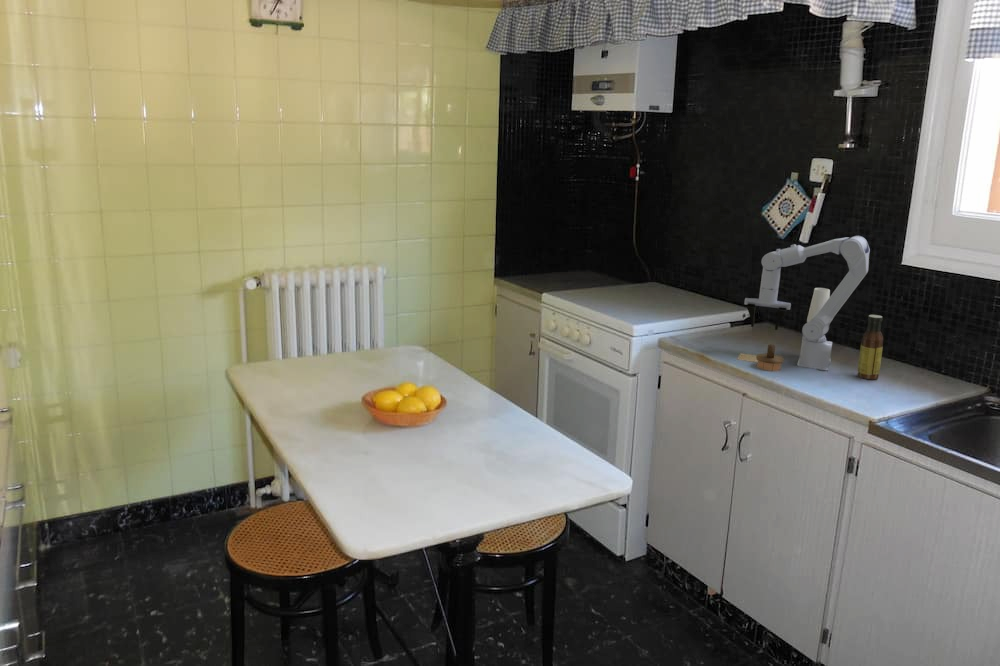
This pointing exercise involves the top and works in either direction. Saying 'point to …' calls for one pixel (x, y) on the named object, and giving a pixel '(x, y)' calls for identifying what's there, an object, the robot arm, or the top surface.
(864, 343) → the sauce bottle
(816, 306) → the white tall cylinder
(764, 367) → the bowl
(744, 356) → the mat
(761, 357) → the lid
